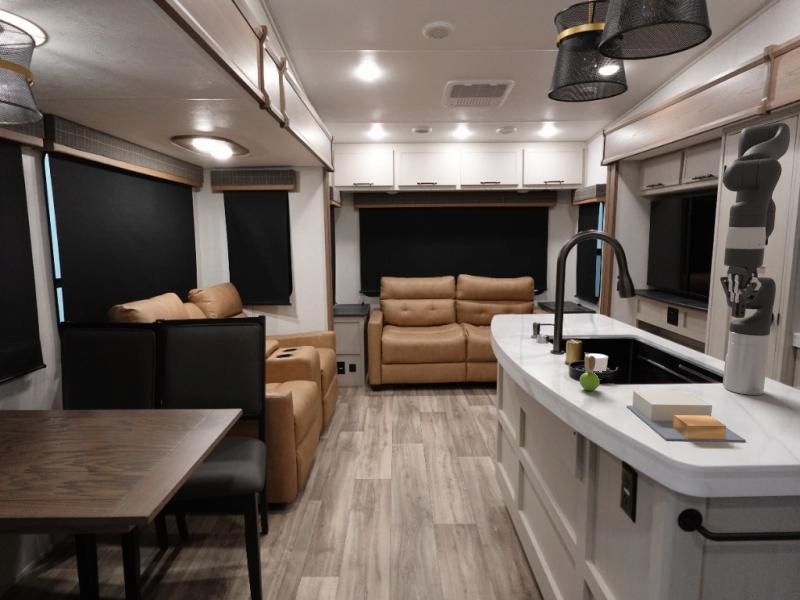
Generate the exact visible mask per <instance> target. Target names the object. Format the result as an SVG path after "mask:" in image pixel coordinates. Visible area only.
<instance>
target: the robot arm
mask: <svg viewBox="0 0 800 600" xmlns="http://www.w3.org/2000/svg"><path fill="white" fill-rule="evenodd" d="M790 141H791V129H790V126H789V125H788V124H787V123H784V122H773V123H767V124H759V125H754V126H748V127H745V128H743V129H741V132H740V134H739V137H738V142H737V143H738V146H737V147H738V148H737V158H736V159H734V160H733V161H731V162H730V163H729V164H728V166H727V167H726V168H725V170H724V173H723V177H722V182H723V186H724V187H725V188H726V189H727V190H728V191H730V192H736V196H735V202H734V203H733V204H732V205H731V206H730V208H729V218H728V229H727V233H726V237H725V247H724V248H725V249H724V256H723V257H724V258H723V265H724V266H725V267H728V268H727V271H726V275H725V276H720V279H719V281H720V283H721V286H722V289H723V292H724V295H725V297H726V300H725V301H726V304H727V306H728V307H729V308H730V309H731V315H730V316H731V317H732V318H735V320H731V322H730V323H729V330H728V331H729V332H728V345H727V354H725V360H724V366H723V367H724V368H723V369H724V370H723V371H724V372H723V378H722V385H723V386H724V388H725V389H726V390H728V391H730V392H733V393H736V394H737V393H738V394H742V395H747V396H748V395H749V396H761V395H764V393H765V384H766V375H767V374H766V373H767V363H768V358H769V357H768V356H769V344H770V334H771V327H772V318H773V317H772V316H773V309H774V306H775V299H776V295H777V294H776V293H777V291H776V290H777V284H776V281H775V280H774V279H773V278H772V277H767V276H766V277H765V276H759V274H758V268H760V267H762V266H763V265H764V256H765V248H766V241H767V240H768V238H770V236H771V235H772V233H773V232H774V229H775V221H776V213H777V212H776V211H777V206H776V202H775V201H774V199H773V198H772V196H773V194H774V191H775V189H776V187H777V186H778V185H777V184H778V183H779V181H780V178H781V176H782V171H783V170H782V169H783V167H782V164H781V163H780V161H778V160H780V159H781V158H782V157H783V156H784V155H785V154H786V153H787V152H788V150H789V147H790ZM758 276H759V277H758ZM746 310H755V311H756V312H755V313H754V314H751V315H750V316H747V317H745V316H746V312H747V311H746Z"/></svg>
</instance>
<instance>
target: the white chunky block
mask: <svg viewBox="0 0 800 600" xmlns="http://www.w3.org/2000/svg"><path fill="white" fill-rule="evenodd" d="M588 353H589V352H588ZM586 356H587V353H586V354H584V358H585V357H586ZM589 356H594V357H595V361H596V362H595V367H594V370H593V371H599V372H602V371H606V372H607V368H608V367H607V366H608V360H609V356H608V355H606V354H603V353H594V352H592V353H591V352H590V353H589V354H588V357H589Z"/></svg>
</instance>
